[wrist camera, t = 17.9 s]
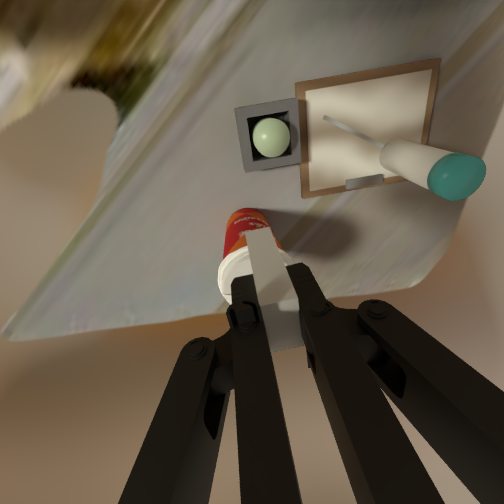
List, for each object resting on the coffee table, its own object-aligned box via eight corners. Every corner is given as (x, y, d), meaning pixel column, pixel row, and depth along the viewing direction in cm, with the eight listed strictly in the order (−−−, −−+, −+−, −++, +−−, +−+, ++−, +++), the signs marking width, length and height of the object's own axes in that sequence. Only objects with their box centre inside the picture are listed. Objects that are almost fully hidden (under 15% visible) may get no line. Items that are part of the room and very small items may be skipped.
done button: (249, 120, 32) (252, 122, 29) (281, 114, 32) (288, 115, 29) (253, 154, 34) (257, 160, 31) (284, 149, 34) (291, 154, 31)
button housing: (234, 108, 32) (235, 108, 29) (291, 98, 32) (297, 97, 29) (243, 167, 35) (245, 172, 33) (295, 158, 35) (301, 162, 33)
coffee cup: (285, 221, 40) (316, 278, 27) (251, 260, 42) (264, 329, 29) (241, 187, 37) (251, 234, 24) (207, 231, 39) (199, 295, 26)
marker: (380, 140, 34) (446, 160, 24) (412, 135, 34) (492, 153, 24) (376, 172, 36) (436, 204, 26) (406, 168, 36) (478, 197, 26)
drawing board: (294, 83, 31) (298, 82, 30) (436, 58, 31) (445, 56, 30) (301, 197, 38) (304, 200, 37) (417, 176, 38) (424, 179, 37)
